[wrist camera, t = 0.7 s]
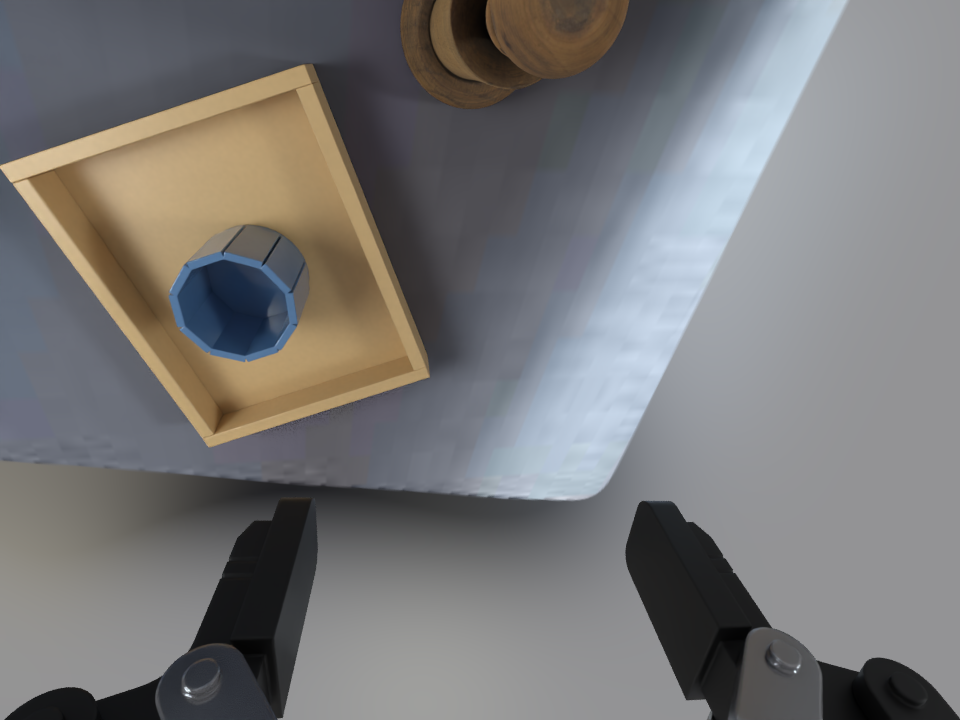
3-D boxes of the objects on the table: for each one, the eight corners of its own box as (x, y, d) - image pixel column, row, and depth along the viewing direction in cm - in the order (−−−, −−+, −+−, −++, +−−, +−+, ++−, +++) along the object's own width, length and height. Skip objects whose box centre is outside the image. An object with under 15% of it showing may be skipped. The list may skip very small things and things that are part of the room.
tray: (33, 156, 26) (-3, 165, 23) (312, 63, 25) (304, 63, 23) (221, 422, 35) (208, 448, 32) (427, 356, 35) (430, 377, 32)
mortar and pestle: (508, 121, 28) (650, 200, 13) (388, 86, 26) (383, 127, 11) (548, -25, 25) (798, -155, 10) (416, -75, 23) (460, -329, 8)
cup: (180, 243, 28) (142, 276, 24) (283, 209, 28) (263, 237, 24) (234, 331, 31) (209, 375, 27) (327, 301, 31) (317, 340, 27)
